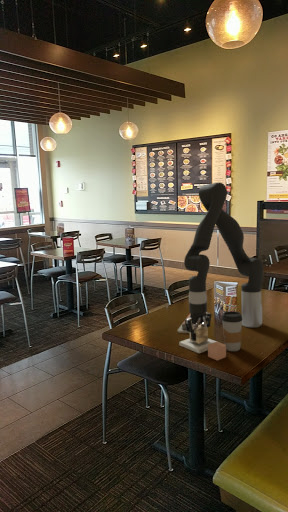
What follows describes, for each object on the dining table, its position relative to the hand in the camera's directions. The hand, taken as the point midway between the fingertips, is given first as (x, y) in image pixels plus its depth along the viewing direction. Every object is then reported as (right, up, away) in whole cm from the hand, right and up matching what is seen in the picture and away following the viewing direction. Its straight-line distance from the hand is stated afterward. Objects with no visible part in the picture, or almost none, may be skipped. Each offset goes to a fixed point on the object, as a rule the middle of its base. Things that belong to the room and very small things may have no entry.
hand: (198, 338), depth 162 cm
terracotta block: (+6, -5, -12) cm, 14 cm away
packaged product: (0, 0, +24) cm, 24 cm away
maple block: (0, -1, 0) cm, 1 cm away
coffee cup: (+13, -3, -4) cm, 14 cm away
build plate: (0, -3, 0) cm, 3 cm away
